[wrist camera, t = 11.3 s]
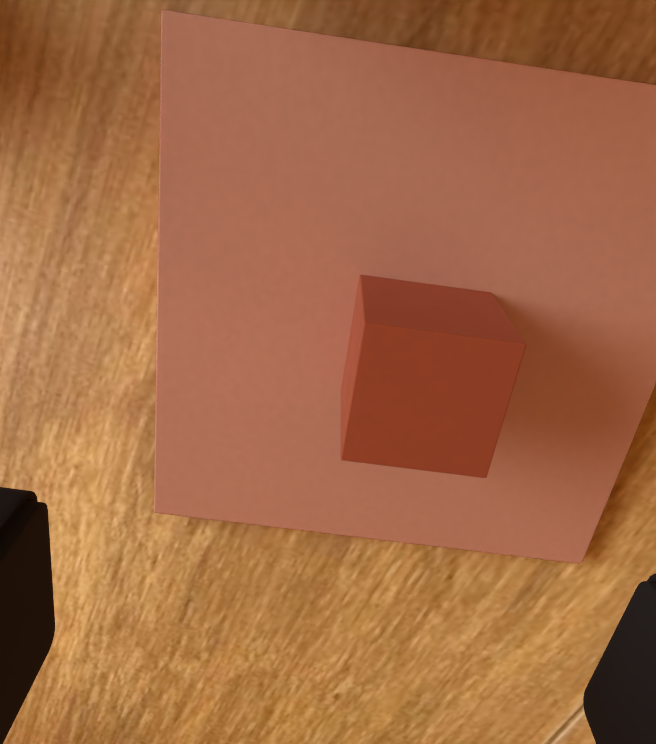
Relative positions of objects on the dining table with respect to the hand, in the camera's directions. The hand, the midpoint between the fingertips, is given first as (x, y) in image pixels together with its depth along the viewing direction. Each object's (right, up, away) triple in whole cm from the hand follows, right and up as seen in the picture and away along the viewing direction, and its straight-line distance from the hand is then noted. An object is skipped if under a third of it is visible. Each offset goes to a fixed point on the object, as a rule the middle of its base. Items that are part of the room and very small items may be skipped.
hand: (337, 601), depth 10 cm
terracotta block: (+3, +5, +14) cm, 15 cm away
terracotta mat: (+3, +5, +15) cm, 16 cm away
